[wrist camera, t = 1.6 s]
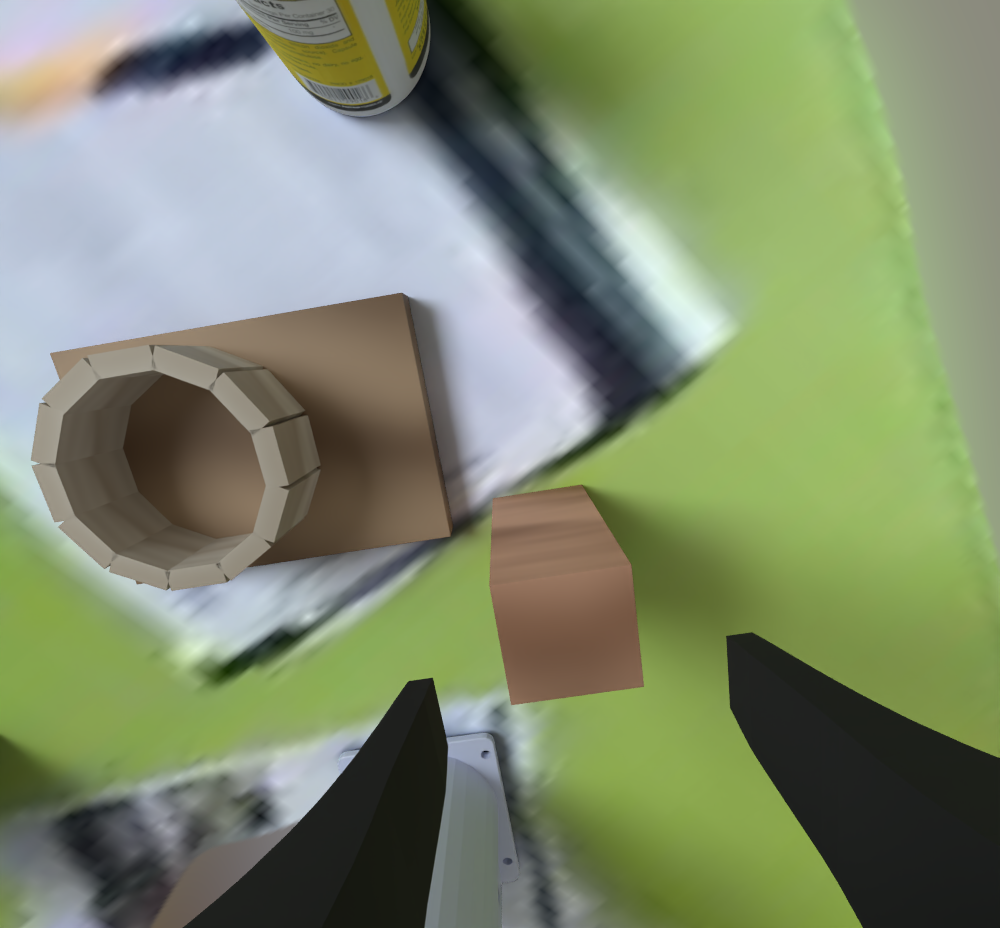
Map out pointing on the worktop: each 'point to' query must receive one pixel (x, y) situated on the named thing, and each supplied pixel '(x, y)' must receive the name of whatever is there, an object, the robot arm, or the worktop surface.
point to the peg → (561, 598)
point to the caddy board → (243, 444)
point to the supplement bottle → (348, 48)
